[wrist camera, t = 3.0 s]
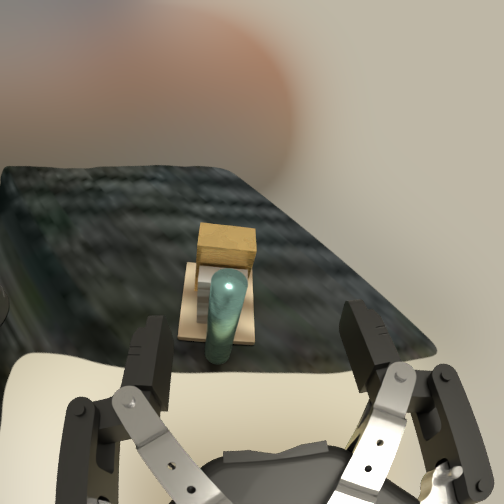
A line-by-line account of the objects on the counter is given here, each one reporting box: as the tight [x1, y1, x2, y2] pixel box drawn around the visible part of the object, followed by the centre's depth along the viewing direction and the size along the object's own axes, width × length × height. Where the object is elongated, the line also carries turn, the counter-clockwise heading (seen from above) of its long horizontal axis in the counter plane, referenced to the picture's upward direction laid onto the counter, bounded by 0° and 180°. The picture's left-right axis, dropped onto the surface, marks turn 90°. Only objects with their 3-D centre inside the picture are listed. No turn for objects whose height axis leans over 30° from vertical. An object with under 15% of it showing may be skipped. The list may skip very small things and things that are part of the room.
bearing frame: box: [178, 262, 255, 345], centre depth 42 cm, size 14×11×11 cm
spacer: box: [194, 223, 257, 291], centre depth 40 cm, size 4×7×9 cm, turn 92°
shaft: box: [205, 268, 248, 364], centre depth 36 cm, size 18×3×15 cm, turn 2°
